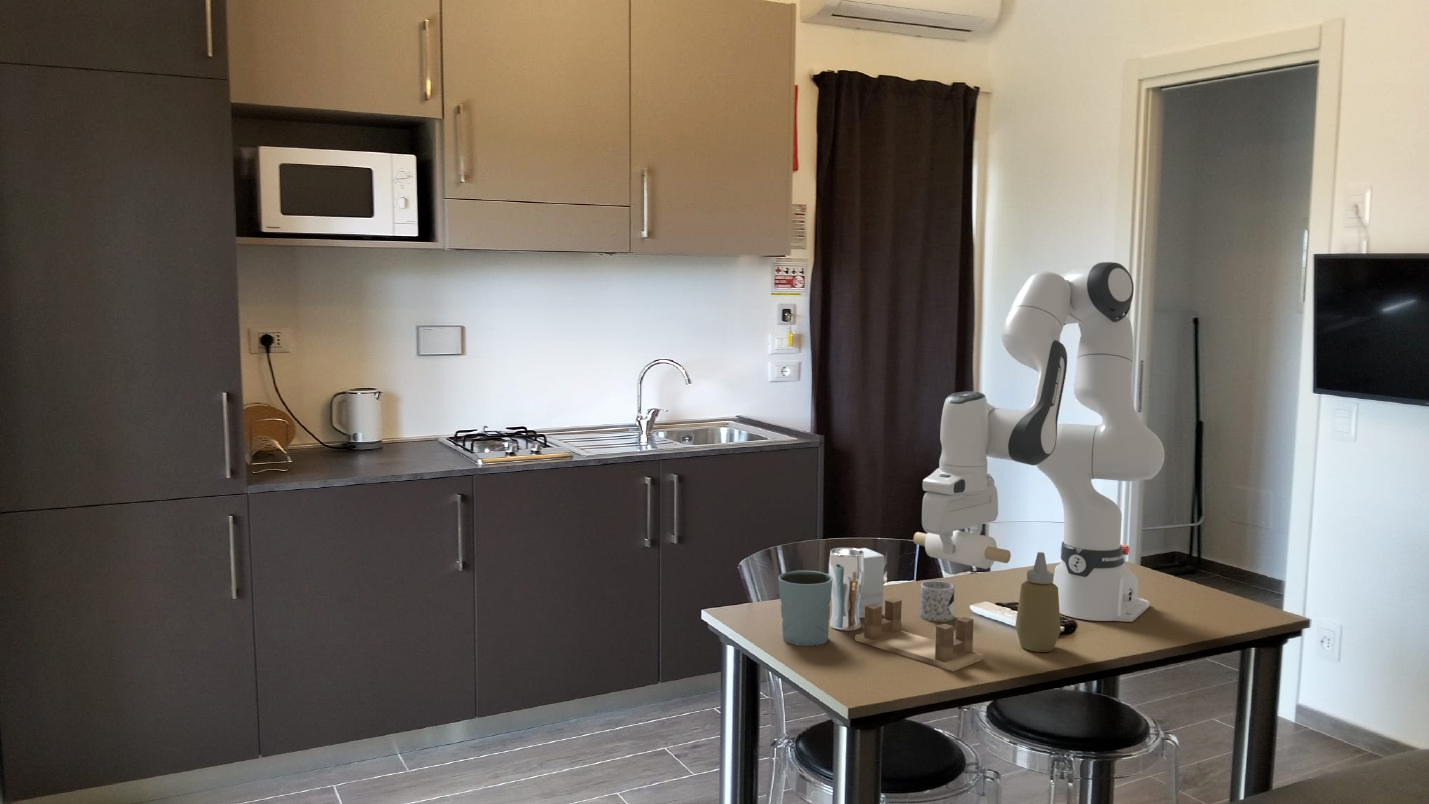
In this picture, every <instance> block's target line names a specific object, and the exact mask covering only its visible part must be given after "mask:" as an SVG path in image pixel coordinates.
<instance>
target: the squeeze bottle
mask: <svg viewBox="0 0 1429 804" xmlns="http://www.w3.org/2000/svg"><path fill="white" fill-rule="evenodd" d="M1061 628H1062V627H1061V613H1060V611H1059V595H1058V587H1057V586H1056V585H1055V584H1054V573H1053V572H1052V571H1050V570H1048V566H1047V561H1046V555H1045V552H1043V551H1039V552H1037V554H1036V557H1035V562H1034V565H1033V569H1029V570H1027V571H1026V580H1025V581H1024V582H1022V584H1021V585H1020V592H1019V598H1018V606H1017V613H1016V619H1015V630H1016V634H1017V637H1018V641H1019V644H1020V647H1021V648H1022V649H1025V650H1028V651H1030V652H1038V653H1039V652H1040V653H1044V652H1047V653H1048V652H1052V651H1054V649H1055V646H1056V643H1057V641H1058V640H1059V637H1060V633H1061Z"/></svg>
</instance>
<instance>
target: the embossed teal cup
mask: <svg viewBox="0 0 1429 804" xmlns="http://www.w3.org/2000/svg"><path fill="white" fill-rule="evenodd" d="M777 580H778V587H779V588H778V589H779V599H780V611H781V613H780V614H781V615H780V616H781V619H782V623H781V625H782V628H781V629H782V638H783V640H784V642H786V641H787V642H786V643H788V642H789V643H788V644H791V643H792V644H791V645H794V644H798V645H797V646H800V645H806V646H805V647H813V646H812V645H816V646H820V645H824V644H825V643H827V642H828V640H829V627H830V617H831V616H830V614H831V604H830V603H831V602H832V598H831V591H832V582H833V578H832V577H831V576H830V575H829V573H825V572H822V571H817V570H793V571H786V572H783V573H781V574H779V576H778V579H777ZM819 644H820V645H819ZM809 645H811V646H809Z"/></svg>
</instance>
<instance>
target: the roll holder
mask: <svg viewBox="0 0 1429 804" xmlns="http://www.w3.org/2000/svg"><path fill="white" fill-rule="evenodd" d="M902 602H903V600H902V599H899V598H895V597H892V598H889V599H886V600H884V618H882V616H883V615H882V606H879V605H875V604H871V605H868V606H865V618H864V620H863V621H864V622H863V623H864V625H863V627H864V628H863V629H864V630H863V632H861V633H858V634H855V635H854V641H856V642H859V643H862V644H865V645H869V646H871V647H875V648H878V649H880V650H884V651H887V652H890V653H894V654H897V655H900V656H904V657H906V658H909V659H913V660H916V661H919V662H922V663H926V664H929V665H931V666H935V667H939V668H941V669H945V670H947V671H951V672H956V671H958V670H961V669H963V668H965V667H968V666H970V665H972V664H975V663H978V662H980V661H983V654H982V653H979V652H976V651H973V650H974V649H973V645H974V644H973V643H974V621H975V620H974V619H973V618H969V617H966V616H963V617H960V618H957V619H956V620H955V626H954V625H952V624H951V625H950V624H948V623H942V624H939V625H936V626H935V639H931V638H928V637H925V636H921V635H918V634H914V633H911V632H907V631H904V630H902V604H903V603H902ZM954 631H955V632H954ZM954 633H955V634H954ZM954 635H955V638H954Z"/></svg>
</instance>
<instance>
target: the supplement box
mask: <svg viewBox="0 0 1429 804" xmlns="http://www.w3.org/2000/svg"><path fill="white" fill-rule="evenodd" d="M858 549H859V550H862V551H863V552H864V571H865V573H864V584H863V590H862V595H861V599H860V605H859V616H860V619H863V618H864V619H865V606H868V605H871V604H875V605H879V606H882V615H881V616H883V615H884V586H885V585H884V584H885V583H884V581H885V580H884V576H885V575H884V573H885V570H884V569H885V555H884V554H881V553H879V552H877V551H875V550H872V549H869V548H867V547H861V548H858Z"/></svg>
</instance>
